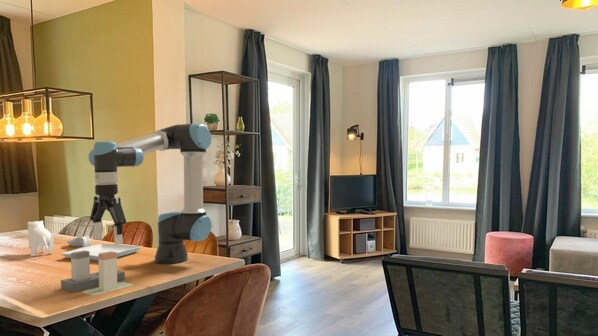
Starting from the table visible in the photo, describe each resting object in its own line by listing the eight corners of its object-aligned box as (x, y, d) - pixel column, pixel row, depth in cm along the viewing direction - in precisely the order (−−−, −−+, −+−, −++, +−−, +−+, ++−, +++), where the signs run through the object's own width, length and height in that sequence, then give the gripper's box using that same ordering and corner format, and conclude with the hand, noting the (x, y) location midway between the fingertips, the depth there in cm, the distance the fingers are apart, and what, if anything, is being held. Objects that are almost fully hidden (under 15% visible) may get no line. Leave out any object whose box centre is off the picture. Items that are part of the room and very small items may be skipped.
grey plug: (85, 284, 161) (84, 250, 161) (89, 286, 159) (89, 251, 159) (71, 287, 157) (71, 252, 157) (76, 289, 155) (75, 253, 155)
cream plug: (112, 285, 160) (111, 251, 159) (117, 287, 157) (116, 252, 157) (99, 289, 156) (98, 253, 155) (104, 290, 153) (103, 254, 153)
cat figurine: (60, 256, 216) (59, 223, 216) (36, 259, 209) (35, 225, 208) (44, 249, 233) (43, 219, 233) (22, 252, 226) (21, 221, 225)
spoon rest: (64, 246, 244) (64, 233, 244) (86, 243, 252) (86, 231, 252) (76, 252, 227) (76, 238, 226) (100, 249, 235) (99, 236, 234)
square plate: (105, 264, 200) (105, 256, 200) (59, 260, 208) (59, 252, 208) (143, 252, 225) (143, 245, 225) (101, 249, 234) (101, 242, 234)
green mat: (122, 284, 165) (122, 281, 165) (134, 287, 161) (134, 284, 161) (80, 294, 152) (80, 291, 152) (92, 298, 148) (92, 295, 148)
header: (112, 278, 173) (112, 268, 173) (125, 282, 168) (124, 272, 168) (61, 291, 157) (60, 280, 157) (73, 295, 152) (72, 284, 152)
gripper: (78, 183, 160) (81, 239, 161) (115, 185, 145) (117, 247, 146) (98, 182, 166) (100, 236, 167) (135, 183, 152) (137, 243, 152)
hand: (108, 241), depth 157 cm, fingers open, 13 cm apart
